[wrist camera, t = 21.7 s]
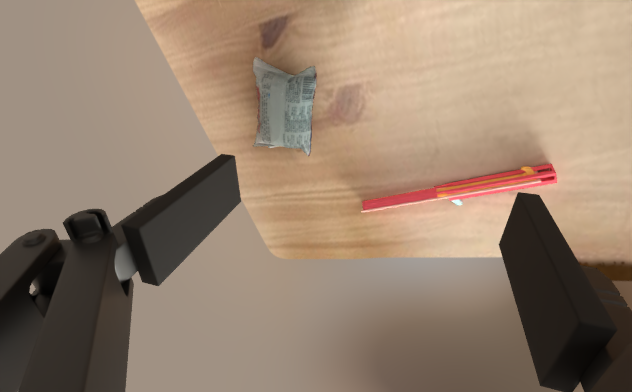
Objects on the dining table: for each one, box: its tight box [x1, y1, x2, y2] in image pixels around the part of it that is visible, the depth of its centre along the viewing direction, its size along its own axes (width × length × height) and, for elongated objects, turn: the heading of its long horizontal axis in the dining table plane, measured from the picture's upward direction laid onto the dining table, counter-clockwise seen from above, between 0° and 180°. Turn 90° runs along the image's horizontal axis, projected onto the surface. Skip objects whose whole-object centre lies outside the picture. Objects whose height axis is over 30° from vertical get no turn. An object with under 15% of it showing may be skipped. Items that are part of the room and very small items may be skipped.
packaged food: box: [253, 57, 317, 156], centre depth 43 cm, size 9×12×5 cm
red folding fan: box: [361, 164, 557, 213], centre depth 43 cm, size 24×2×5 cm
